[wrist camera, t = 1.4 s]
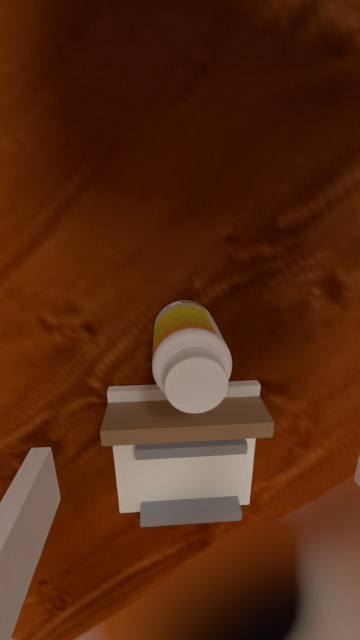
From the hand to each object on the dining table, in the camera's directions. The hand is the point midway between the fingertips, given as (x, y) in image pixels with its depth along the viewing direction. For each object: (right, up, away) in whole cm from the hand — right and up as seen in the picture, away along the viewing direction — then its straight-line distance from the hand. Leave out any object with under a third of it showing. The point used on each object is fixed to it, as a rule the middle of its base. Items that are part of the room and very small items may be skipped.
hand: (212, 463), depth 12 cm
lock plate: (-1, -8, +19) cm, 21 cm away
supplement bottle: (-1, +5, +15) cm, 16 cm away
